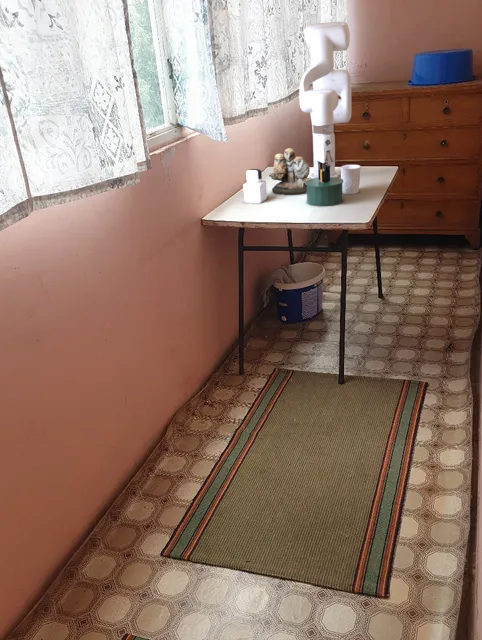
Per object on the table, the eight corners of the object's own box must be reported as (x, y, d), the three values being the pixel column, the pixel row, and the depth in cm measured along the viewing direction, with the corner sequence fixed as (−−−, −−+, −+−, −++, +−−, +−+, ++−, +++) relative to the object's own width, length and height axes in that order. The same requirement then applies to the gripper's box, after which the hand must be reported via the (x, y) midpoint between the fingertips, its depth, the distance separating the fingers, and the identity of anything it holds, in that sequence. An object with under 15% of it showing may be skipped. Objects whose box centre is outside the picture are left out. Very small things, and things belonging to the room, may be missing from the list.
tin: (302, 199, 240) (301, 181, 237) (335, 195, 243) (334, 177, 239) (313, 207, 229) (313, 189, 225) (347, 203, 232) (347, 184, 228)
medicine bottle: (251, 198, 248) (248, 167, 242) (267, 198, 245) (265, 167, 239) (244, 202, 242) (241, 171, 236) (260, 203, 240) (258, 172, 233)
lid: (300, 183, 237) (299, 168, 234) (335, 178, 240) (335, 163, 237) (312, 191, 225) (312, 175, 222) (349, 186, 228) (349, 170, 225)
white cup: (359, 194, 241) (359, 168, 236) (339, 194, 243) (339, 169, 238) (361, 189, 248) (361, 164, 243) (341, 190, 250) (341, 164, 244)
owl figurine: (266, 195, 250) (263, 151, 241) (273, 188, 260) (270, 146, 251) (309, 194, 246) (308, 150, 237) (314, 187, 256) (313, 145, 247)
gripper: (341, 131, 216) (341, 184, 226) (325, 125, 230) (326, 175, 240) (321, 133, 215) (322, 186, 224) (306, 127, 229) (308, 177, 238)
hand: (324, 180), depth 232 cm, fingers closed on lid, 3 cm apart
